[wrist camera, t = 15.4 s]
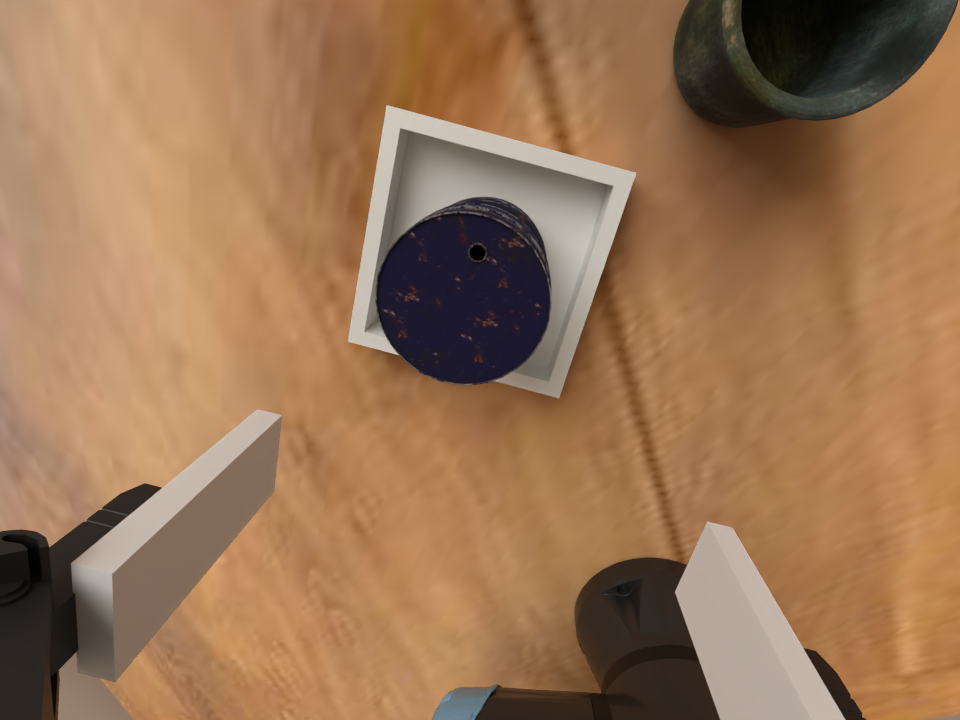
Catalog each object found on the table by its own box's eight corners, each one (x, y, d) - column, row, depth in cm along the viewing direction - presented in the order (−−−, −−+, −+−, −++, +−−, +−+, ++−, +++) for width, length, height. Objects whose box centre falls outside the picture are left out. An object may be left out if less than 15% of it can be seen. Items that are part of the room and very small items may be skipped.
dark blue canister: (522, 332, 43) (518, 409, 30) (412, 296, 43) (356, 357, 29) (563, 217, 40) (581, 242, 26) (443, 177, 40) (397, 182, 26)
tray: (556, 379, 46) (558, 398, 42) (362, 327, 46) (347, 341, 42) (626, 172, 39) (636, 172, 36) (400, 111, 39) (386, 105, 35)
